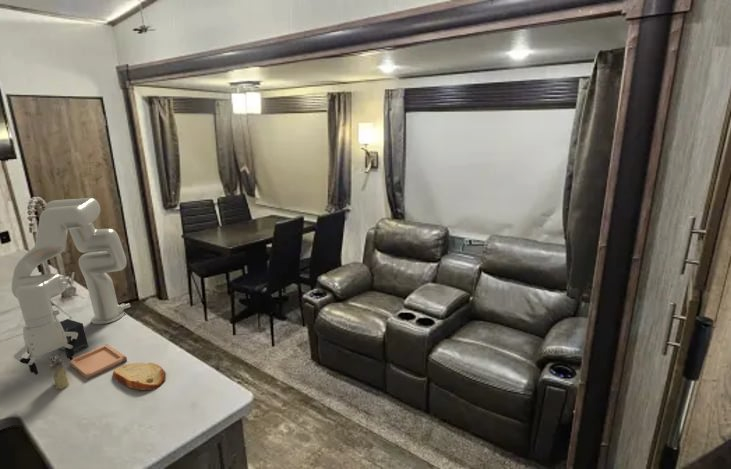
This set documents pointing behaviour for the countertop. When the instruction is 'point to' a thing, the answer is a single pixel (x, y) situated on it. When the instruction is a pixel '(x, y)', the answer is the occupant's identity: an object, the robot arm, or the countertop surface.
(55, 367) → the lighter
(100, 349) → the rest tray
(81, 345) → the small box
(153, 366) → the slice of bread
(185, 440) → the countertop surface
